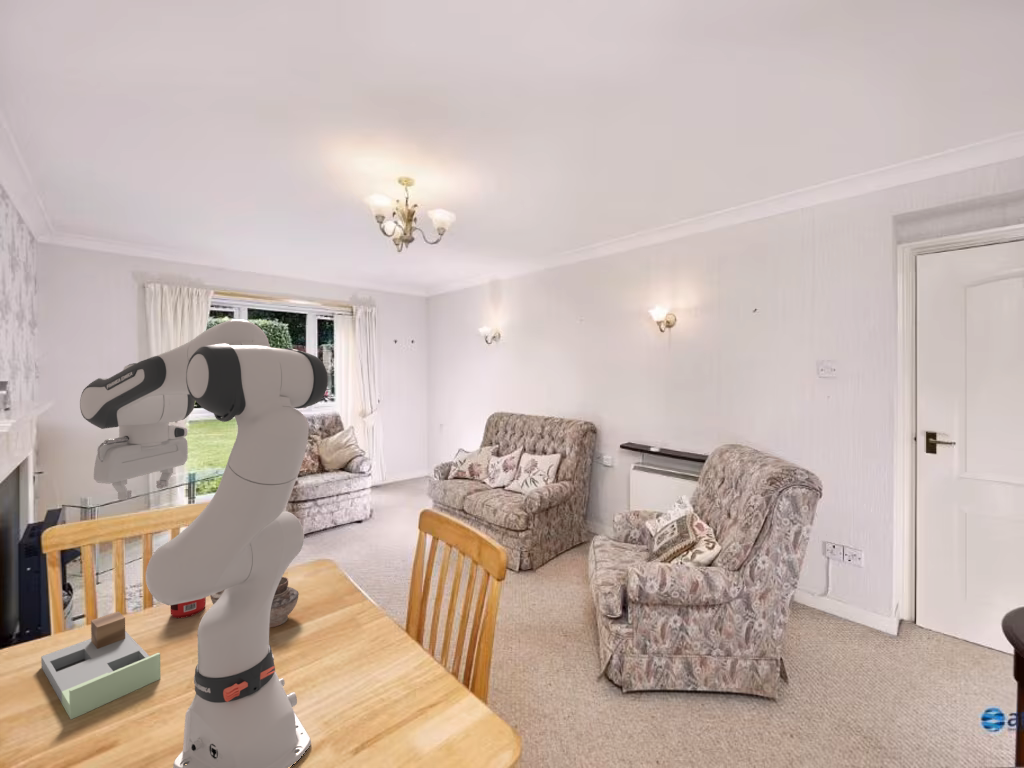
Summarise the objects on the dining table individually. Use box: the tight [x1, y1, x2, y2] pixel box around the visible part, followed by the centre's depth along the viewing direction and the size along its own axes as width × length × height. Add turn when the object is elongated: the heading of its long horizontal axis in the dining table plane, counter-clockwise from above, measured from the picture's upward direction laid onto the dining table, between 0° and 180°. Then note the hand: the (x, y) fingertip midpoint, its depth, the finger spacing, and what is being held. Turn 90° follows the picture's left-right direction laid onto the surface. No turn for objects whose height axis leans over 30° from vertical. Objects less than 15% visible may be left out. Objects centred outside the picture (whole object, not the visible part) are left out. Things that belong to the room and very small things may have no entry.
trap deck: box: [40, 630, 161, 720], centre depth 98 cm, size 26×14×6 cm, turn 55°
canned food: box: [170, 597, 207, 619], centre depth 124 cm, size 8×8×11 cm
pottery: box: [209, 576, 300, 628], centre depth 121 cm, size 11×25×12 cm, turn 75°
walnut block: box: [90, 610, 126, 649], centre depth 106 cm, size 5×5×5 cm
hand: (144, 493), depth 103 cm, fingers open, 8 cm apart
